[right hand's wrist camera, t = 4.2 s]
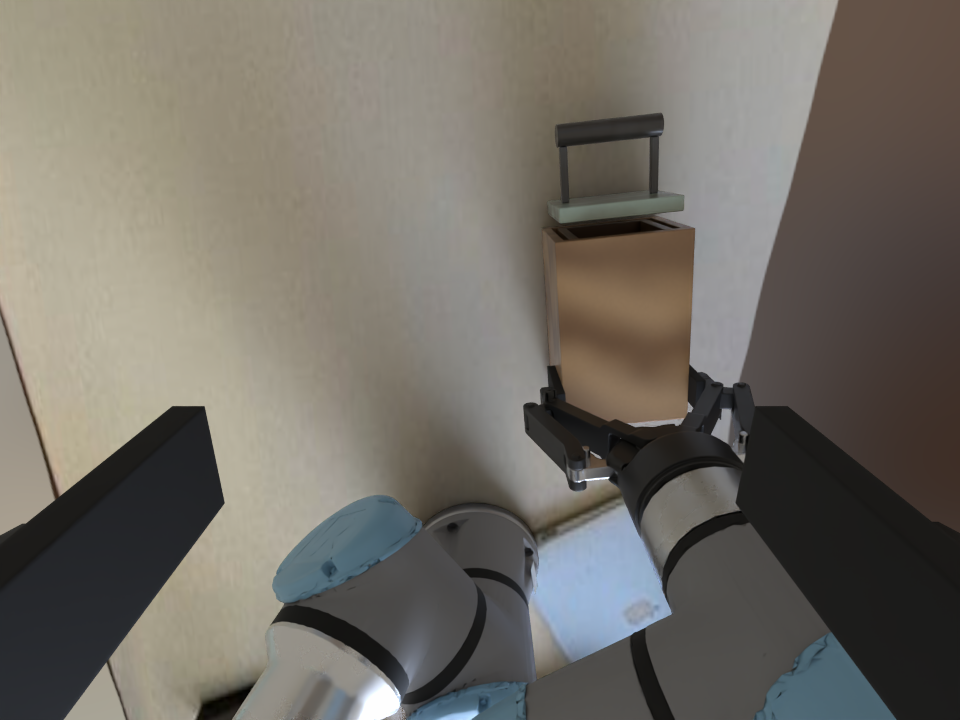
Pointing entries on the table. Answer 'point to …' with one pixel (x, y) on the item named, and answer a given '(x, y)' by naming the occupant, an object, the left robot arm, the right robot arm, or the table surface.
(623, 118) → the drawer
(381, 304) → the table surface
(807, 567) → the right robot arm
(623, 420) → the cabinet
